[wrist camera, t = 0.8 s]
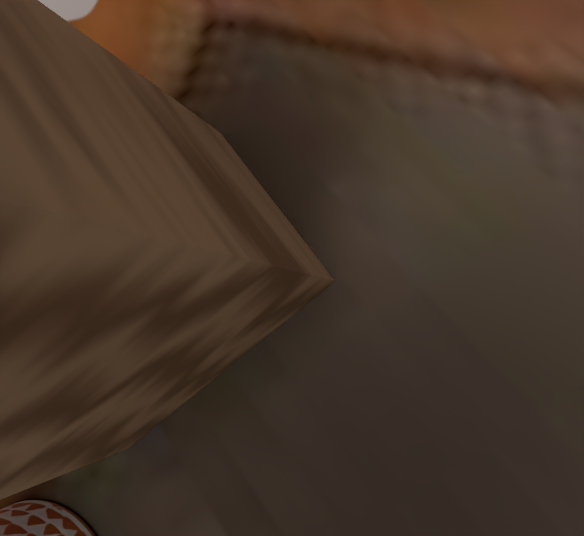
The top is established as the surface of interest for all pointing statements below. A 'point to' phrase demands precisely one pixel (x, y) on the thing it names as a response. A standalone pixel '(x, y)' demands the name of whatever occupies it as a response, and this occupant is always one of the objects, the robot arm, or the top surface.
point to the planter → (41, 520)
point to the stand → (119, 252)
